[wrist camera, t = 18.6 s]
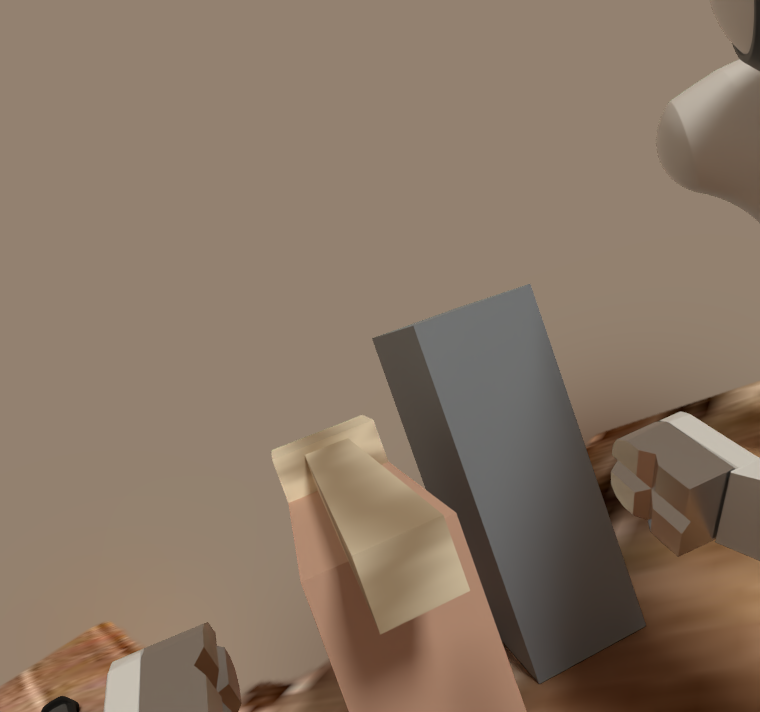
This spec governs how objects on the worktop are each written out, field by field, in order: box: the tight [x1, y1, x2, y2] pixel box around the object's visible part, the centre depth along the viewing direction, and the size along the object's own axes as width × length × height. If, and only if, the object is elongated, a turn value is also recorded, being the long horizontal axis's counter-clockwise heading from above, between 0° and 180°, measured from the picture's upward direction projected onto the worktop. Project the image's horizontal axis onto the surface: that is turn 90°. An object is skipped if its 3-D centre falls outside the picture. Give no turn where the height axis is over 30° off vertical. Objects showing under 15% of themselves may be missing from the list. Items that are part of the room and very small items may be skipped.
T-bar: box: [272, 415, 470, 635], centre depth 27 cm, size 7×23×3 cm, turn 13°
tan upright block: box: [289, 462, 527, 712], centre depth 32 cm, size 7×20×18 cm, turn 13°
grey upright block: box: [373, 284, 646, 684], centre depth 43 cm, size 9×14×26 cm, turn 13°
